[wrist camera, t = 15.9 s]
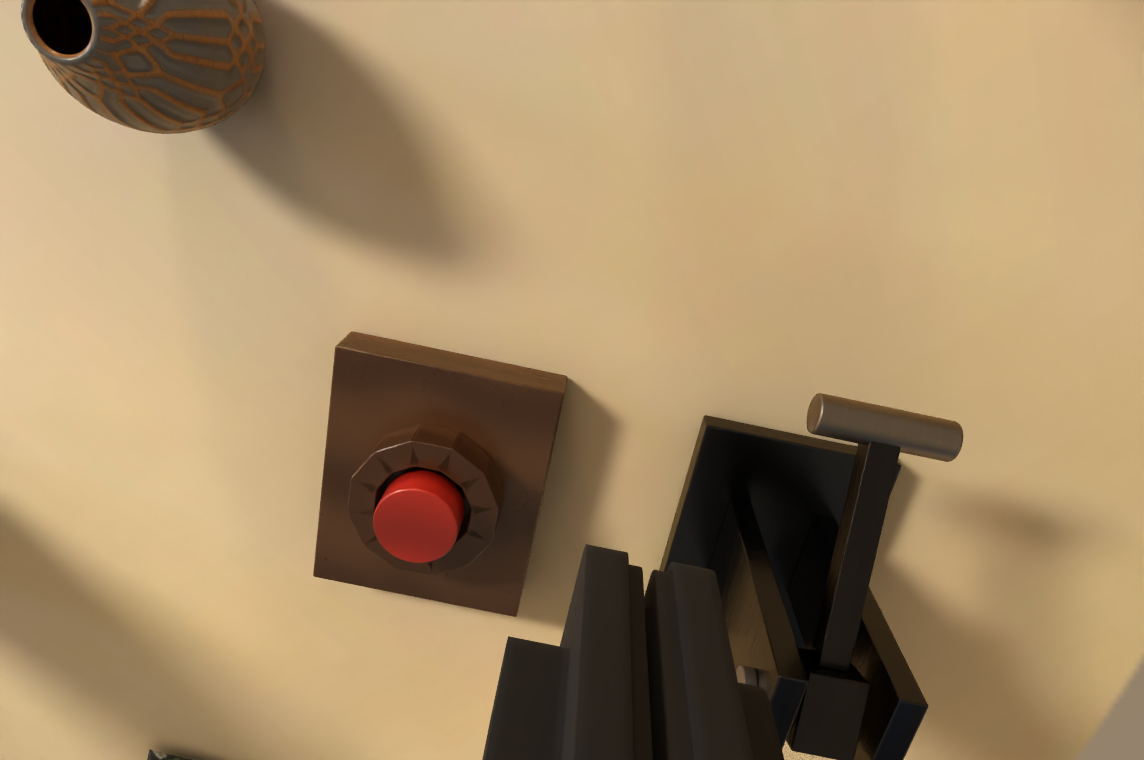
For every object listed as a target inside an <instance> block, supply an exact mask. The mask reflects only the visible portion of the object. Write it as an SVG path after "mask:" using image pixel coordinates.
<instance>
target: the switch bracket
mask: <svg viewBox="0 0 1144 760" xmlns="http://www.w3.org/2000/svg"><path fill="white" fill-rule="evenodd" d="M856 452H857V447H855V446H851V445H846V444H841V443H836V442H831V441H827V440H822V439H817V438H812V437H807V436H803V435H798V434H793V433H788V432H783V431H778V430H774V429H769V428H764V427H759V426H754V425H750V424H745V423H740V422H735V421H730V420H725V419H721V418H716V417H711V416H704V418H703V421H702V425H701V428H700V431H699V435H698V438H697V442H696V445H695V449H694V452H693V456H692V459H691V463H690V466H689V470H688V473H687V476H686V480H685V483H684V487H683V490H682V494H681V497H680V501H679V504H678V508H677V511H676V514H675V518H674V521H673V525H672V528H671V532H670V535H669V539H668V542H667V546H666V549H665V552H664V556H663V559H662V563H661V566H660V570H659V571H663V572H666V571H667V568H668V566H669V565H670V563H671V562H676V563H681V564H686V565H690V566H695V567H700V568H705V569H710V570H713V571H715V574H716V576H717V581H718V586H719V591H720V596H721V601H722V606H723V611H724V616H725V621H726V626H727V631H728V636H729V641H730V646H731V651H732V656H733V661H734V666H735V671H736V675H737V680H738V682H739V683H744V684H749V685H754V686H759V687H762V688H763V689H764V690H765V691H766V693H767V696H768V698H769V701H770V704H771V708H772V712H773V716H774V721H775V725H776V729H777V733H778V737H779V741H780V745H781V749H782V748H783V746H784V743H785V741H786V738H787V736H788V733H789V731H790V728H791V726H792V723H793V721H794V718H795V716H796V713H797V711H798V708H799V706H800V703H801V700H802V698H803V695H804V693H805V690H806V688H807V685H808V683H809V682H808V678H807V675H806V672H805V669H804V666H803V663H802V660H801V657H800V653H799V650H798V648H803V649H808V650H811V648H812V644H813V639H814V635H815V631H816V626H817V622H818V618H819V613H820V609H821V604H822V600H823V596H824V591H825V587H826V583H827V578H828V574H829V570H830V565H831V561H832V556H833V552H834V548H835V543H836V539H837V535H838V530H839V526H840V521H841V517H842V513H843V508H844V504H845V500H846V495H847V491H848V487H849V482H850V478H851V473H852V469H853V465H854V460H855V456H856ZM900 469H901V464H900V463H899V461H898V462H897V466H896V470H895V474H894V479H893V483H892V487H891V491H892V489H893V486H894V484H895V481H896V479H897V476H898V474H899V471H900ZM890 494H891V492H890ZM851 663H852V664H853V666H854V667H855V668H856V669H857V670H858V671H859V672H860V673H861V675H862V676H863V677H864V678H865V679H866V680H867V681H868V682H869V684H870V685H871V689H870V693H869V697H868V702H867V706H866V710H865V714H864V719H863V723H862V727H861V732H860V736H859V740H858V744H857V749H856V753H855V757H854V760H903V759H904V757H905V755H906V753H907V751H908V749H909V747H910V744H911V742H912V740H913V738H914V736H915V734H916V732H917V730H918V728H919V726H920V723H921V721H922V719H923V717H924V715H925V713H926V711H927V709H928V704H927V702H926V700H925V698H924V696H923V694H922V692H921V690H920V688H919V686H918V684H917V682H916V680H915V678H914V676H913V674H912V672H911V670H910V668H909V666H908V664H907V662H906V660H905V658H904V656H903V654H902V652H901V650H900V648H899V646H898V644H897V642H896V640H895V638H894V636H893V634H892V632H891V630H890V628H889V626H888V624H887V622H886V620H885V618H884V616H883V614H882V612H881V610H880V608H879V606H878V604H877V602H876V600H875V598H874V596H873V594H872V592H871V590H870V588H869V587H868V591H867V595H866V600H865V604H864V608H863V613H862V617H861V621H860V625H859V630H858V634H857V638H856V643H855V647H854V651H853V656H852V660H851Z"/></svg>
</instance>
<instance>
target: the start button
mask: <svg viewBox="0 0 1144 760" xmlns="http://www.w3.org/2000/svg"><path fill="white" fill-rule="evenodd" d="M464 514H465V506H464V501H463V498H462V496H461V494H460V492H459V490H458V489H457V487H456V486H455V485H454V484H453V483H452V482H451V481H450V480H448V479H447V478H445V477H444V476H442V475H440V474H437V473H435V472H431V471H425V470H417V471H410V472H407V473H404V474H402V475H400V476H398V477H397V478H395V479H394V480H393V481H392V482H391V483H390V484H389V486H388V487H387V489H386V491H385V493H384V494H383V496H382V498H381V500H380V502H379V503H378V505H377V507H376V509H375V512H374V516H373V528H374V532H375V535H376V537H377V539H378V541H379V542H380V544H381V545H382V546H383V547H384V548H385V549H386V550H387V551H388V552H389V553H390V554H392V555H393V556H395V557H397V558H399V559H402V560H404V561H408V562H413V563H426V562H431V561H434V560H437V559H439V558H441V557H442V556H444V555H445V554H447V553H448V552H449V551H450V550H451V548H452V547H453V545H454V544H455V542H456V539H457V536H458V533H459V531H460V528H461V525H462V522H463V519H464Z"/></svg>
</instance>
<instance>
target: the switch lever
mask: <svg viewBox="0 0 1144 760" xmlns="http://www.w3.org/2000/svg"><path fill="white" fill-rule="evenodd" d="M807 429H808V431H809V432H810V433H811V434H816V435H820V436H825V437H830V438H835V439H840V440H844V441H849V442H854V443H858V447H857V452H856V456H855V460H854V465H853V469H852V473H851V478H850V482H849V487H848V491H847V495H846V500H845V504H844V508H843V513H842V517H841V521H840V526H839V530H838V535H837V539H836V543H835V548H834V552H833V556H832V561H831V565H830V570H829V574H828V578H827V583H826V587H825V591H824V596H823V600H822V604H821V609H820V613H819V618H818V622H817V626H816V631H815V635H814V639H813V644H812V648H811V650H808V649H803V648H798V650H799V653H800V657H801V660H802V663H803V666H804V669H805V672H806V675H807V678H808V682H809V683H808V685H807V688H806V690H805V693H804V695H803V698H802V700H801V703H800V706H799V708H798V711H797V713H796V716H795V718H794V721H793V723H792V726H791V728H790V731H789V733H788V736H787V738H786V741H787V743H788V745H789V747H790V748H791V750H792V751H796V752H801V753H806V754H811V755H816V756H821V757H826V758H831V759H836V760H854V757H855V753H856V749H857V744H858V740H859V736H860V732H861V727H862V723H863V719H864V714H865V710H866V706H867V702H868V697H869V693H870V689H871V685H870V684H869V682H868V681H867V680H866V679H865V678H864V677H863V676H862V675H861V673H860V672H859V671H858V670H857V669H856V668H855V667H854V666H853V664H852V663H851V660H852V656H853V651H854V647H855V643H856V638H857V634H858V630H859V625H860V621H861V617H862V613H863V608H864V604H865V600H866V595H867V591H868V587H869V582H870V578H871V574H872V569H873V565H874V561H875V556H876V552H877V548H878V543H879V539H880V535H881V531H882V526H883V522H884V518H885V513H886V509H887V505H888V500H889V496H890V492H891V487H892V483H893V479H894V474H895V470H896V466H897V462H898V457H899V453H900V452H902V453H907V454H912V455H917V456H921V457H926V458H931V459H936V460H941V461H945V462H949V461H952V460H954V459H955V458H956V457H957V455H958V454H959V452H960V450H961V447H962V442H963V431H962V427H961V426H960V424H959V423H957V422H955V421H951V420H946V419H941V418H936V417H932V416H927V415H922V414H917V413H913V412H908V411H903V410H898V409H893V408H889V407H884V406H879V405H874V404H870V403H865V402H860V401H855V400H850V399H846V398H841V397H836V396H831V395H826V394H822V393H819V394H816V395H815V396H814V398H813V399H812V401H811V403H810V406H809V409H808V414H807Z"/></svg>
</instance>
